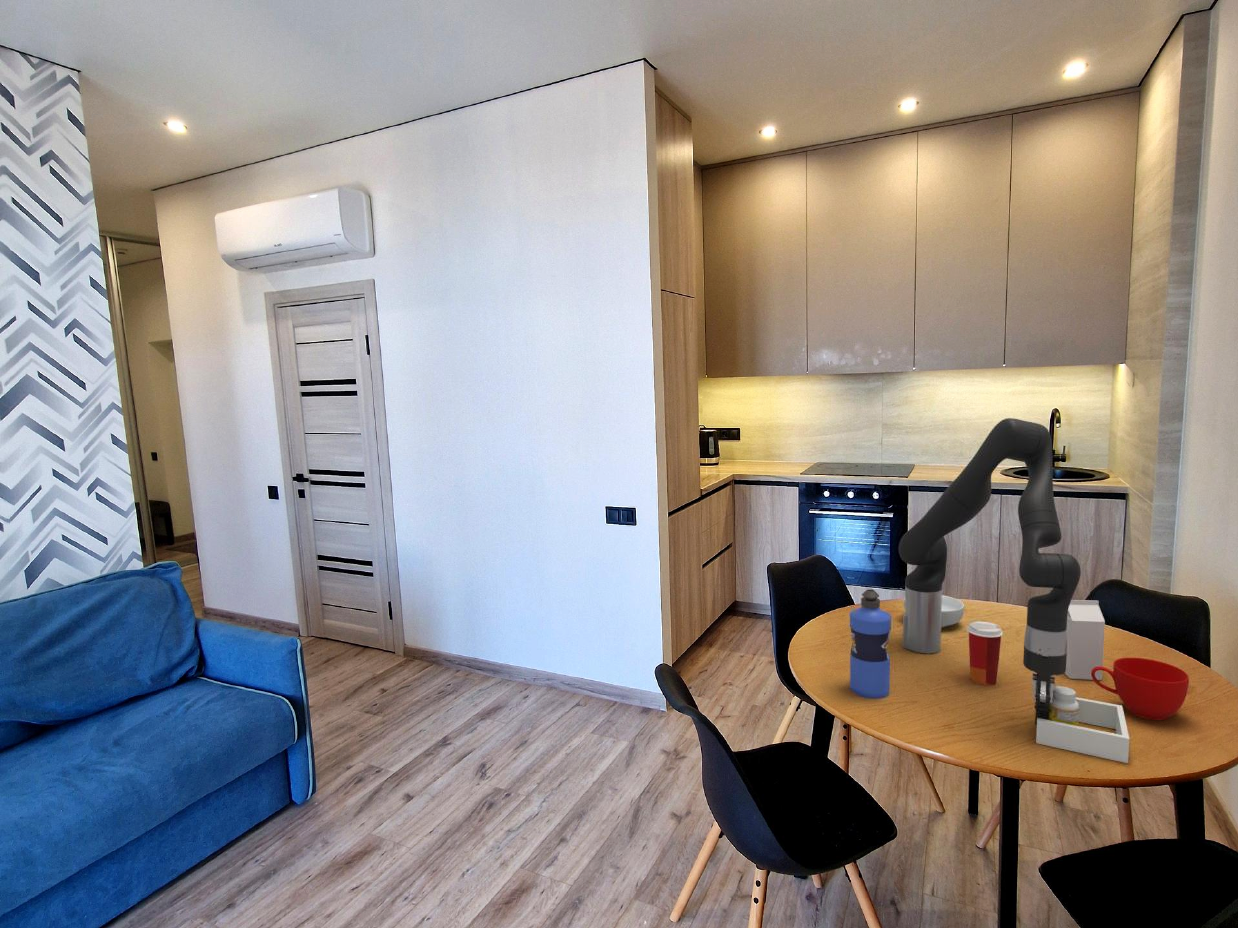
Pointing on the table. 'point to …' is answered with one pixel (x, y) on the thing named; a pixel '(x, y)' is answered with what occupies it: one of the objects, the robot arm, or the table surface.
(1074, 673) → the milk carton
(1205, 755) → the table surface
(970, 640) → the paper cup
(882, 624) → the water bottle
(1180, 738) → the table surface
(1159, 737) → the table surface
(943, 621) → the cereal bowl
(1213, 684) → the table surface
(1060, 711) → the supplement bottle
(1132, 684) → the ceramic cup
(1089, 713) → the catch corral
